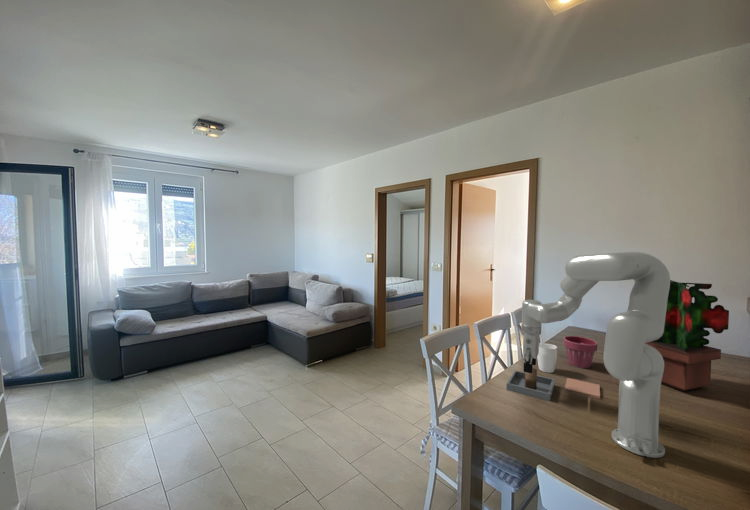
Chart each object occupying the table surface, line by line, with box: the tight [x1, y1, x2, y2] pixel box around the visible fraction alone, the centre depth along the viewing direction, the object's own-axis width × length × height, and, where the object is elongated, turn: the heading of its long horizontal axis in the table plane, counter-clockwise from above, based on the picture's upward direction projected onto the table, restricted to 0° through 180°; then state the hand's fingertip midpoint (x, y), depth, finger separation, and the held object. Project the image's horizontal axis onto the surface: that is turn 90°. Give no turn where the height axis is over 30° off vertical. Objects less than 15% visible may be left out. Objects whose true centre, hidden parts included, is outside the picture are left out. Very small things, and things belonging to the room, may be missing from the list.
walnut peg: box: [525, 367, 538, 390], centre depth 130 cm, size 4×4×8 cm
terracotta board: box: [564, 377, 601, 400], centre depth 130 cm, size 12×12×1 cm
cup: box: [536, 342, 558, 373], centre depth 149 cm, size 9×9×12 cm
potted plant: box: [645, 279, 730, 392], centre depth 133 cm, size 22×22×45 cm
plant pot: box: [563, 335, 598, 369], centre depth 155 cm, size 14×14×13 cm
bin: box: [506, 370, 555, 402], centre depth 130 cm, size 16×16×4 cm
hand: (529, 368), depth 130 cm, fingers open, 9 cm apart
